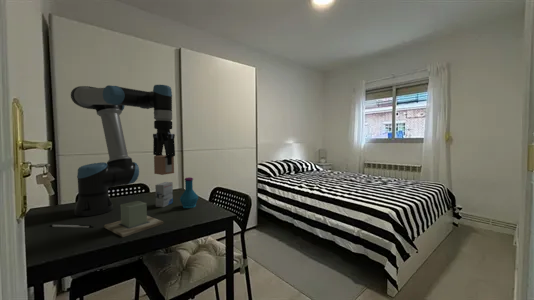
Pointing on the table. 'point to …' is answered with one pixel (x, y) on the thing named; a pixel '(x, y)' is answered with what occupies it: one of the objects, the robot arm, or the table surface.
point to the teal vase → (189, 195)
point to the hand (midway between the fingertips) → (164, 171)
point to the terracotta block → (161, 165)
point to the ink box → (164, 194)
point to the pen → (72, 226)
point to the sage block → (133, 213)
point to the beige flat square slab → (126, 231)
